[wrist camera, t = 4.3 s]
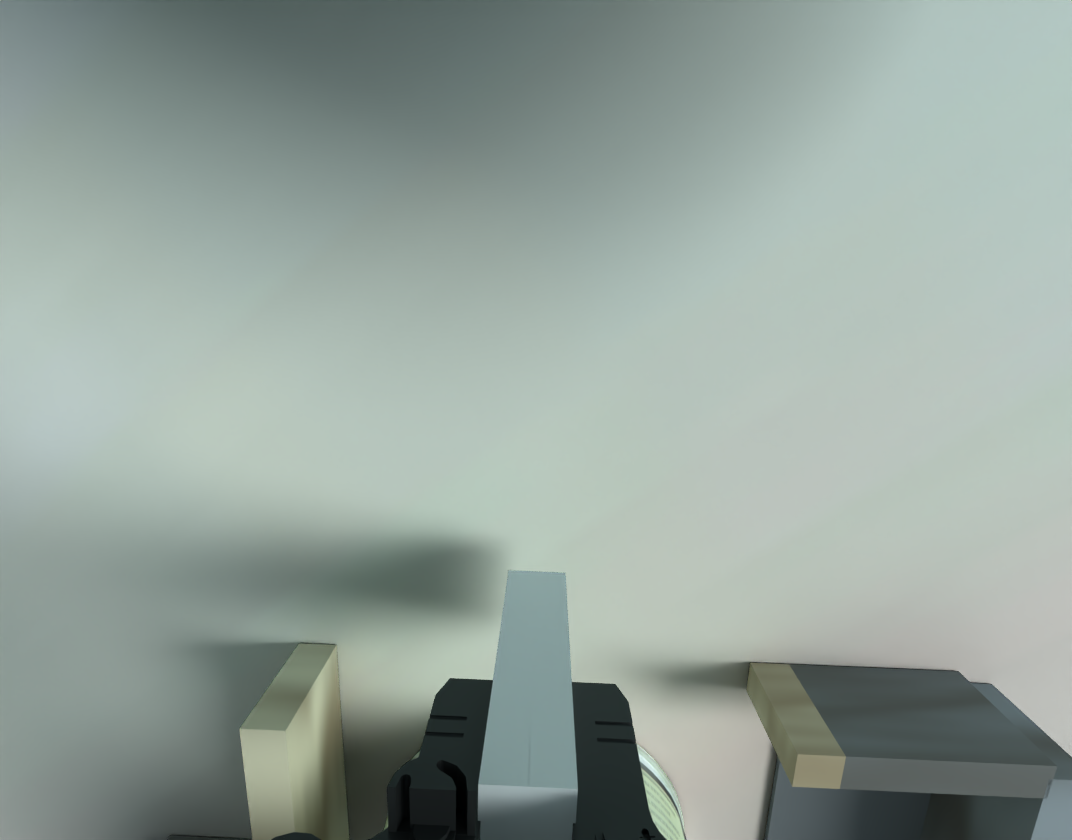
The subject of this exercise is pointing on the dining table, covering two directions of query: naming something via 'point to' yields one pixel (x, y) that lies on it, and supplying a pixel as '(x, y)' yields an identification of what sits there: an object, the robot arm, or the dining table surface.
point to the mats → (842, 813)
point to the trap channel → (790, 722)
